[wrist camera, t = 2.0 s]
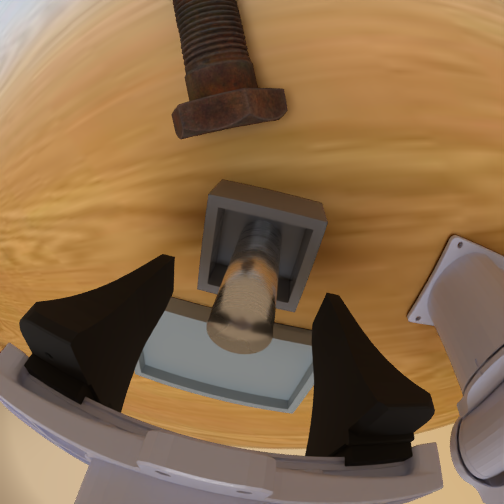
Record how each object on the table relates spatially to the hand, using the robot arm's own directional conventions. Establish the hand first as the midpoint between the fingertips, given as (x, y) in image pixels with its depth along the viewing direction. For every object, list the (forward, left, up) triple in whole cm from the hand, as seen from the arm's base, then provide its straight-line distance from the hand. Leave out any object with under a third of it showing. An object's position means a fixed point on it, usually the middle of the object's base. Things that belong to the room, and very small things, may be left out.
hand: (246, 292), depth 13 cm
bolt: (+5, -14, -7) cm, 16 cm away
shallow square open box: (0, 0, -6) cm, 6 cm away
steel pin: (0, 0, -5) cm, 5 cm away
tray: (+1, +13, -6) cm, 14 cm away
